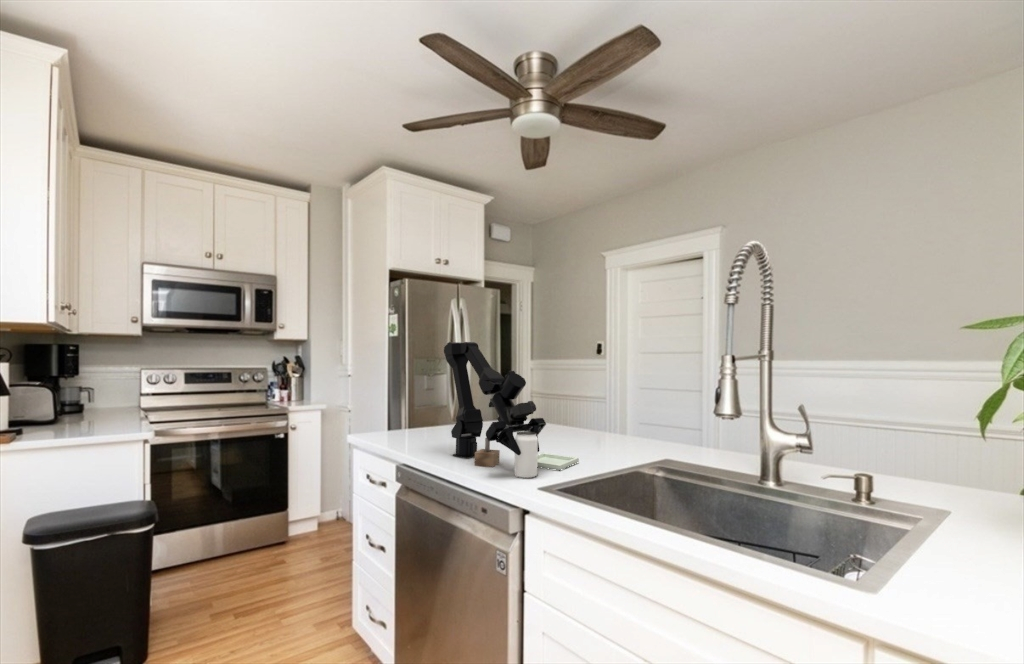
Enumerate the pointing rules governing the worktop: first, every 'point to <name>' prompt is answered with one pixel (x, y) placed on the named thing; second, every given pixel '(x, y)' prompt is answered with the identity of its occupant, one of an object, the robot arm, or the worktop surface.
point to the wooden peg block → (487, 456)
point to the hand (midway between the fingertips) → (529, 453)
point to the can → (526, 455)
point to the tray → (555, 461)
